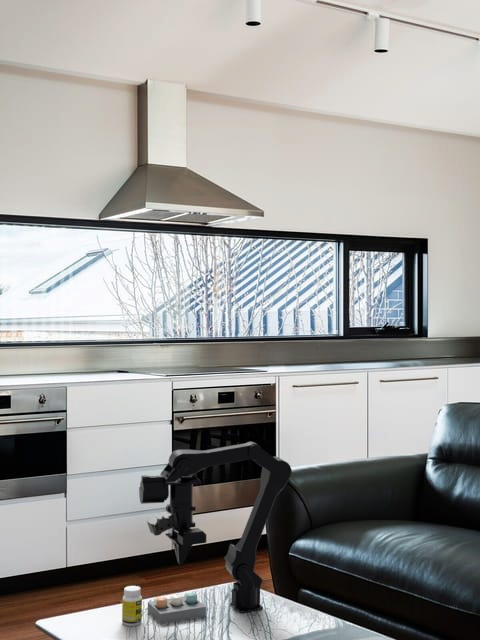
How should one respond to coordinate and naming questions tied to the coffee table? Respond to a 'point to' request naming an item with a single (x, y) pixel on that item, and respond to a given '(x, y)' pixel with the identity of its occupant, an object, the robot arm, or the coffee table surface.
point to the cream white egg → (176, 600)
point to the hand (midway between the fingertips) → (180, 563)
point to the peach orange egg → (161, 602)
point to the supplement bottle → (132, 606)
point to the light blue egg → (191, 598)
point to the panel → (176, 611)
